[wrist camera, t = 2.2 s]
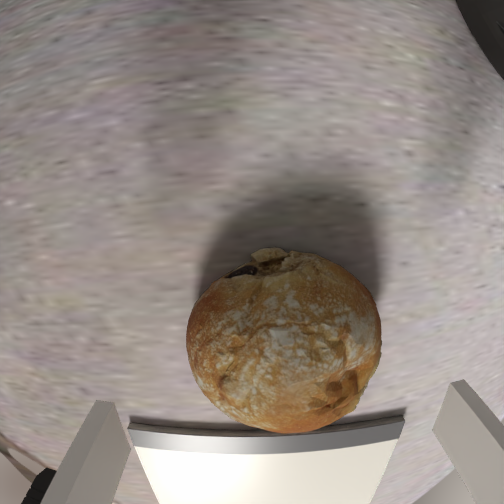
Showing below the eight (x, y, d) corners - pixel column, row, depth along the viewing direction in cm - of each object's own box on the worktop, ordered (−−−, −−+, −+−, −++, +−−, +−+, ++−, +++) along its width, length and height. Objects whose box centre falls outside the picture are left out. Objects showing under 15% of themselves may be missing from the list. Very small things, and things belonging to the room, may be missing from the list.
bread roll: (326, 228, 20) (327, 189, 12) (400, 370, 18) (440, 411, 10) (194, 301, 22) (126, 303, 14) (263, 434, 19) (230, 498, 12)
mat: (402, 415, 20) (405, 420, 19) (365, 505, 23) (366, 510, 23) (129, 422, 20) (127, 428, 19) (166, 510, 24) (165, 515, 23)
